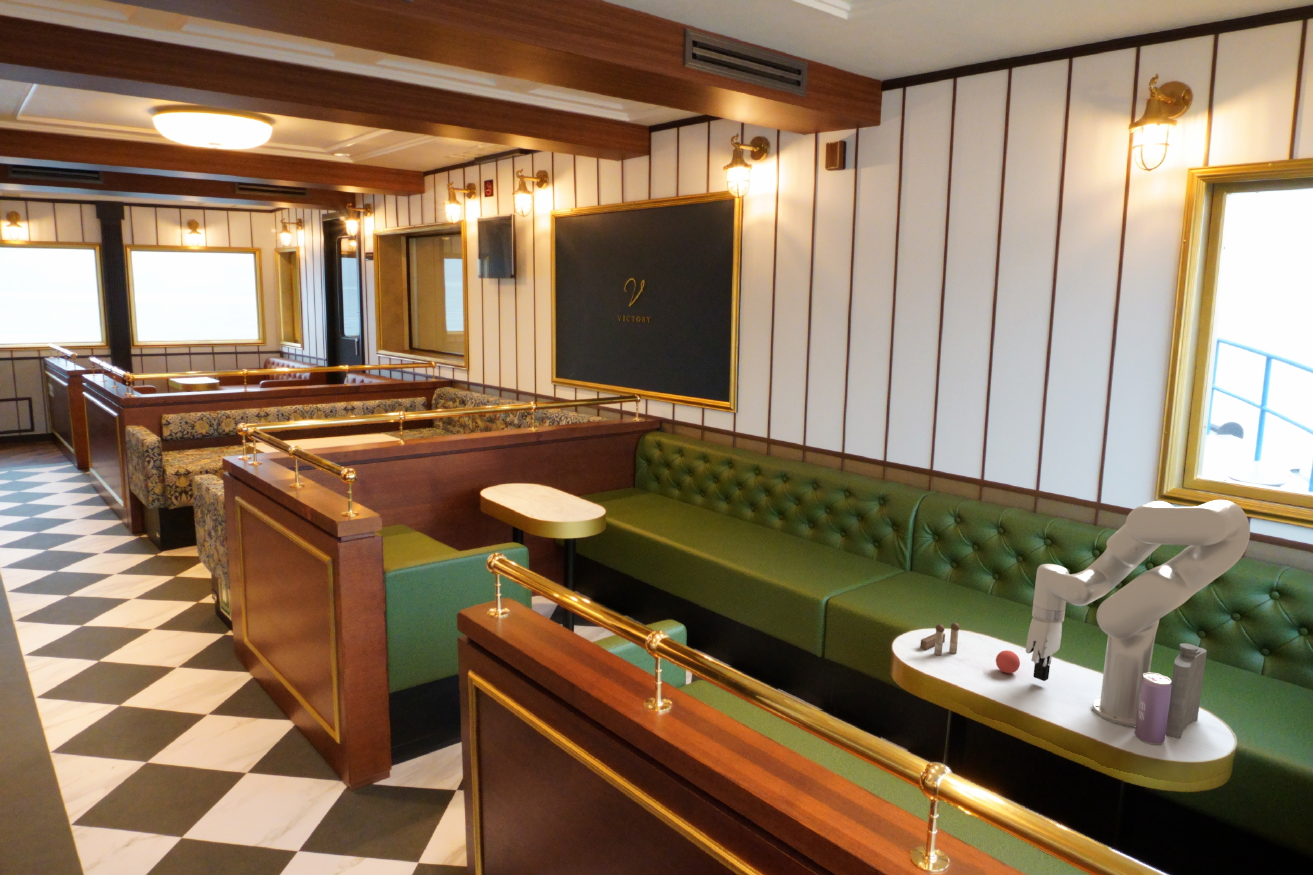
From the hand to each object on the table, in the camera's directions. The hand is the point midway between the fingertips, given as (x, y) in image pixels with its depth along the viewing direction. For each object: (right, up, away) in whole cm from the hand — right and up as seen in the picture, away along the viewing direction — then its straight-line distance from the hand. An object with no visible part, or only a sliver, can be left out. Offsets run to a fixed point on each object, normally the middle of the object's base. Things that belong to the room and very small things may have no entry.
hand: (1040, 678), depth 214 cm
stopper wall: (-20, +3, +24) cm, 32 cm away
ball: (-6, +2, +7) cm, 9 cm away
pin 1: (-21, +2, +18) cm, 27 cm away
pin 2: (-16, +2, +19) cm, 25 cm away
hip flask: (+24, -6, -19) cm, 31 cm away
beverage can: (+13, -7, -26) cm, 30 cm away
